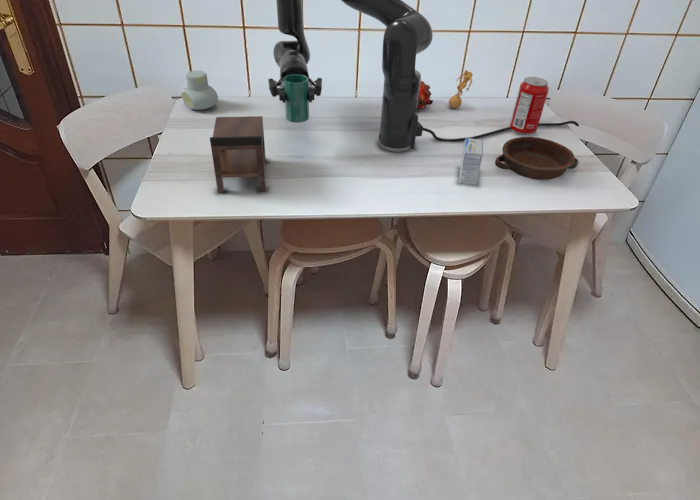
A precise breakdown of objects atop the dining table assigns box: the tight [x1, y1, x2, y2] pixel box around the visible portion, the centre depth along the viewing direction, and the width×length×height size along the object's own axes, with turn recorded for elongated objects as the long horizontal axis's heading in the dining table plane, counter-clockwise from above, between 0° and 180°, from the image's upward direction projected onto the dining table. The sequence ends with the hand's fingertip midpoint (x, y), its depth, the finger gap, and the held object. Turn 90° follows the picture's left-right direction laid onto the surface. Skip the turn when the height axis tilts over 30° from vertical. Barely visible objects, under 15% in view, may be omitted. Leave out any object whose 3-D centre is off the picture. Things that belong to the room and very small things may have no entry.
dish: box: [494, 136, 579, 181], centre depth 130 cm, size 18×22×5 cm
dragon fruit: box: [417, 80, 434, 110], centre depth 157 cm, size 8×8×12 cm
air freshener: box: [181, 70, 219, 111], centre depth 150 cm, size 11×8×10 cm
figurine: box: [448, 69, 473, 110], centre depth 156 cm, size 8×6×12 cm
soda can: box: [509, 76, 550, 136], centre depth 144 cm, size 8×8×15 cm
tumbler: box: [284, 74, 310, 124], centre depth 123 cm, size 6×6×10 cm
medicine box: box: [458, 137, 484, 186], centre depth 124 cm, size 8×4×9 cm, turn 168°
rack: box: [209, 115, 267, 194], centre depth 118 cm, size 11×15×14 cm
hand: (297, 98), depth 121 cm, fingers closed on tumbler, 6 cm apart
